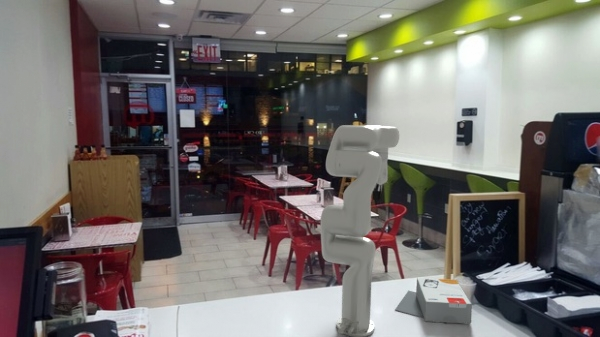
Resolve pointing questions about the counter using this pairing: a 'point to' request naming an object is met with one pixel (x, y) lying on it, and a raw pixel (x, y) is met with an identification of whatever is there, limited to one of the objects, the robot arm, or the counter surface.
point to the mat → (411, 305)
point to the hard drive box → (443, 301)
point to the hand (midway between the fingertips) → (377, 199)
